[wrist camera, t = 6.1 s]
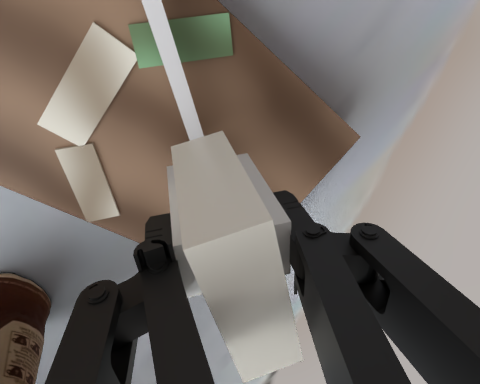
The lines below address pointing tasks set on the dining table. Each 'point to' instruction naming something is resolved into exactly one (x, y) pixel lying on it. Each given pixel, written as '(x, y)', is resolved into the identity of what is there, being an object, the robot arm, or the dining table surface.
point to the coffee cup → (21, 328)
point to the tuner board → (145, 106)
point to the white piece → (227, 234)
